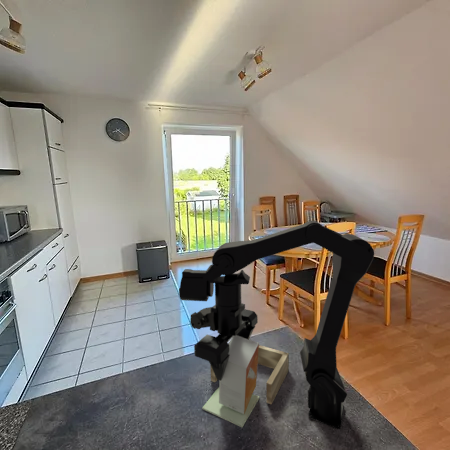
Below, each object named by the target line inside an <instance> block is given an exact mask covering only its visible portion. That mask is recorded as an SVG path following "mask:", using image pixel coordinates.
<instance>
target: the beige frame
mask: <svg viewBox="0 0 450 450" xmlns="http://www.w3.org/2000/svg"><path fill="white" fill-rule="evenodd" d="M289 355H290V353H289V352H286V351H281V350H278V349H274V348H271V347H268V346H264V345H260V344H259V349H258V364H257V365H259V366H264V367H265V368H266V367H267V368H270V369H272V370H273V371H272V373H271V374H270V376H269V378H268V379H267V381H266V385H265V386H266V396H265V397H266V404H269V405H271V406H272V405H273V403H274V400H275V399H276V397H277V394H278V393H279V390H281V389H280V388H281V386H282V385H283V382H284V381H285V379H286V377H287V375H288V373H289V372H290V371H289V366H290V365H289V364H290V362H289ZM209 364H210V363H209ZM209 367H210V381H211V382H213V383H217V381H219V380H218V379H217V378H216V376H215V374H214V371H213V369H212V367H211V364H210V366H209Z"/></svg>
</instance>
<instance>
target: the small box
mask: <svg viewBox="0 0 450 450" xmlns="http://www.w3.org/2000/svg"><path fill="white" fill-rule="evenodd" d="M228 344H229V353H228V354H229V355H230V356H229V359H228V362H227V366H226V369H225V372H224V375H223V378H222V380H221V381H220V380H218V381H219V382H218V383H219V387H218V388H219V403H220V404H222V405H224V406H226V407H229V408H231V409H233V410H235V411H237V412H240V413H242V414H245V411H246V409H247V406H248V404H249V401H250V399H251V396H252V394H254V392H255V389H256V388H257V387H256V386H257V376H258V365H259V364H258V349H259V345H260V343H259V342H257V341H254V340H251V339H250V338H249V339H246V338H243V337H240V336H237V335H236V336H233V337H232V338H231V339H230V340H229V341H228Z"/></svg>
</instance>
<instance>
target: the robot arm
mask: <svg viewBox="0 0 450 450" xmlns="http://www.w3.org/2000/svg"><path fill="white" fill-rule="evenodd" d="M310 244H316V245H317V246H319V247H321V248H323V249H325V250H326V251H328V252H330V253H332V259H331V260H332V277H331V281H330V284H329V288H328V291H327V295H326V298H325V302H324V305H323V309H322V311H321V314H320V315H321V316H320V318H319V322H318V325H317V329H316V333H315V335H314V336H313V337H312V338H311V339H308V338H307V337H305V338H304V339H303V346H302V349H301V351H299V355H300V359H301V365H302V369H303V372H304V374H305V379H306V382H307V383H308V385H309V387H308V390H307V408H308V409H309V410H308V414H307V415H308V416H307V417H308V418H310V419H311V420H314V421H316V422H319V423H321V424H324V425H328V426H330V427H333V428H335V429H337V430H341V429H342V425H343V419H344V412H345V406H344V402H345V401H346V399H347V396H348V393H347V391H346V388H345V385H344V383H343V380H342V377H341V375H340V372H339V370H338V366H337V365H338V364H337V363H338V362H337V346H338V343H339V340H340V336H341V333H342V330H343V327H344V324H345V320H346V317H347V314H348V310H349V307H350V305H351V301H352V298H353V294H354V292H355V291H354V290H355V287H356V285H357V284H358V283H359V282H360V280H362V278H364V276H366V274H367V272H368V270H369V268H370V266H371V265H372V262H373V260H374V259H375V258H374V257H375V250H374V248H373V246H372V245H371V244H370V243H369V242H368V241H367V240H365V239H363V238H361V237H359V236H358V235H356V234H352V233H345V234H342V233H339V232H338V231H335V230H333V229H331V228H328V227H327V226H324V225H322V224H321V223H320V222H318V221H315V220H309V221H307V222H305V223H302V224H300V225H296V226H293V227H290V228H287V229H283V230H281V231H278V232H274V233H271V234H268V235H265V236H262V237H259V238H256V239H255V238H254V239H252V240H238V241H237V240H236V241H231V242H225V243H223V244H221V245H220V246H219V247H218V248H217V249H216V250H215V252H214V253H213V255H212V258H211V264H210V265H209V266H208V268H207V269H206V270H202V269H199V270H198V269H197V270H196V269H190V268H185V269H184V270H183V271H181V279H180V283H179V289H178V295H179V299H180V300H181V301H189V302H190V301H192V302H207V301H208V300H209V298H212V297H213V295H214V300H215V301H214V302H215V303H214V305H213V306H209V307H205V308H203V309H200V310H198V311H197V312H196V311H194V312H192V314H190V319H189V321H190V325H191V328H193V329H197V330H201V329H202V328H203V329H204V328H209V330H210V331H211V332H216V331H217V334H218V335H217V336H213V335H210V334H205V336H203V337H202V338H201V339H200V340H198V342H196V343H195V344H194V346H193V348H194V350H193V351H194V356H195V357H196V358H199V359H202V360H205V361H208V362H209V364H211V367H212V369H213V371H214V374H215V376H216V378H217V379H218V380H217V381H219V380H220V381H221V380H222V378H223V375H224V372H225V369H226V366H227V362H228V359H229V356H230V355H229V354H228V353H229V344H228V343H229V342H230V341H231V339H232V337H233V336H236V335H237V336H240V337H243V338H246V339H249V340H250V338H251V336H252V334H253V332H254V331H255V329H256V325H257V324H258V319H259V318H258V314H257V313H256V312H255V311H254V310H250V309H246V304H245V303H242V285H249V283H250V280H251V277H250V276H249V275H248V274H247V273H246V272H245V270H243V269H244V268H247V267H248V266H249V265H251V264H253V263H254V262H256V261H257V260H260V259H264V258H268V257H270V256H274V255H277V254H280V253H283V252H287V251H290V250H293V249H296V248H300V247H303V246H306V245H310ZM238 271H239V272H238Z"/></svg>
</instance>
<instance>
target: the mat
mask: <svg viewBox="0 0 450 450" xmlns="http://www.w3.org/2000/svg"><path fill="white" fill-rule="evenodd" d="M259 400H260V396H259V395H256V394H254V393H253V394H252V396H251V399H250V401H249V404H248V406H247V409H246V411H245V414H242V413H240V412H237V411H235V410H233V409H231V408H229V407H226V406H224V405H222V404H220V403H219V387H218V388H216V390H215V391H214V393H213V394H212V395H211V396H210V398H209V399H208V400H207V401H206V402H205V404H204V405H203V406H202V407H201V408H202V410H203V411H204V412H205V411H206V412H207V413H210V414H212V415H213V416H216V417H218V418H221V419H223V420H225V421H226V422H230V423H232V424H233V425H235V426H238V427H240V428H243V427H244V426H245V424H246V422H247V420H248V419H249V417H250V415H251V414H252V412H253V410H254V408H255V406H256V405H257V403H258V401H259Z"/></svg>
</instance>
